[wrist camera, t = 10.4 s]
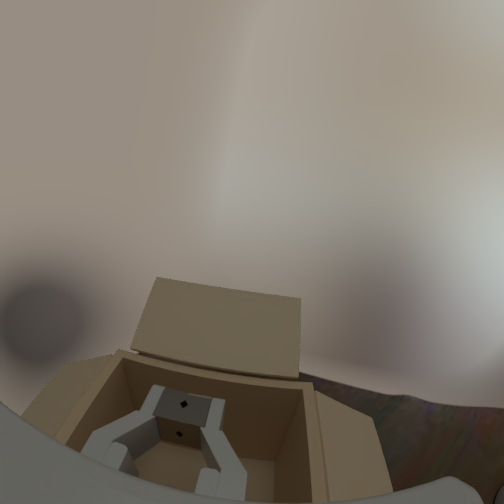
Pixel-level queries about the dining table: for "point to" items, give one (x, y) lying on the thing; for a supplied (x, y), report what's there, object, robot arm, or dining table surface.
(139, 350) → the flap
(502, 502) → the milk bottle
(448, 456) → the dining table surface
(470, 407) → the dining table surface
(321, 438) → the carton
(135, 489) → the robot arm
